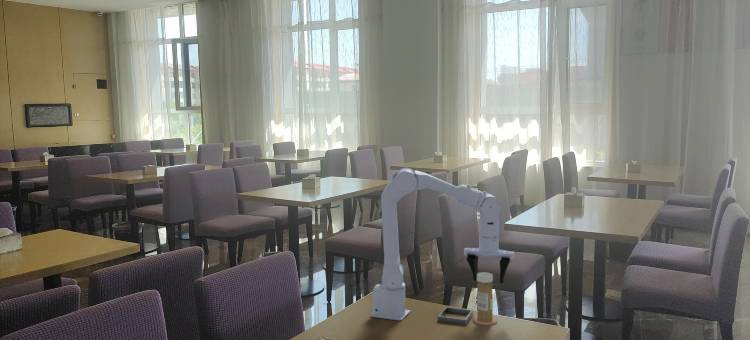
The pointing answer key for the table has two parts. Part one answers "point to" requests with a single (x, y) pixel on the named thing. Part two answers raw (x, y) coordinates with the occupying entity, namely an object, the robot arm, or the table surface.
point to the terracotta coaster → (484, 321)
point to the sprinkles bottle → (484, 296)
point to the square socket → (455, 320)
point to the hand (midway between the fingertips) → (488, 281)
